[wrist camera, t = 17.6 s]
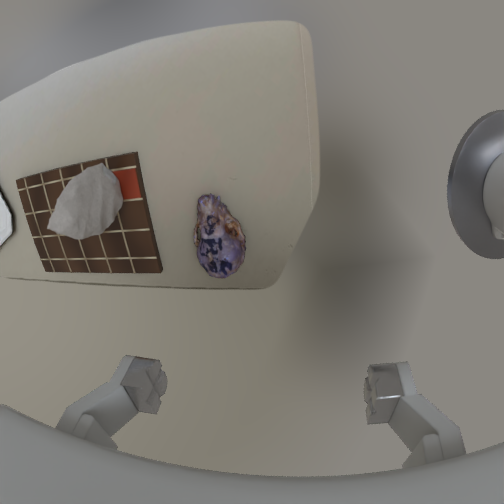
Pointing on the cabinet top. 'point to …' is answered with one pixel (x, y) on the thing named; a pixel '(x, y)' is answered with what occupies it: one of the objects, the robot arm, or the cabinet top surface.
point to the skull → (218, 238)
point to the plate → (5, 220)
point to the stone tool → (87, 204)
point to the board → (98, 246)
